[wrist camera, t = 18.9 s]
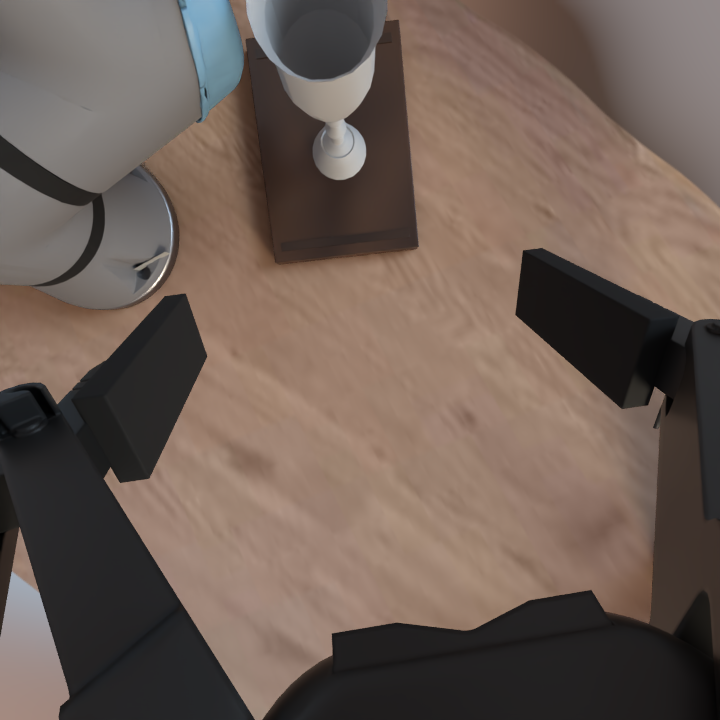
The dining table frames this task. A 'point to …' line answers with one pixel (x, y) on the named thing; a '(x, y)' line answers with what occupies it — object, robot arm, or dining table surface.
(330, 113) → the chalice
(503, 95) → the dining table surface
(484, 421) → the dining table surface
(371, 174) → the serving board
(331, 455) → the dining table surface
